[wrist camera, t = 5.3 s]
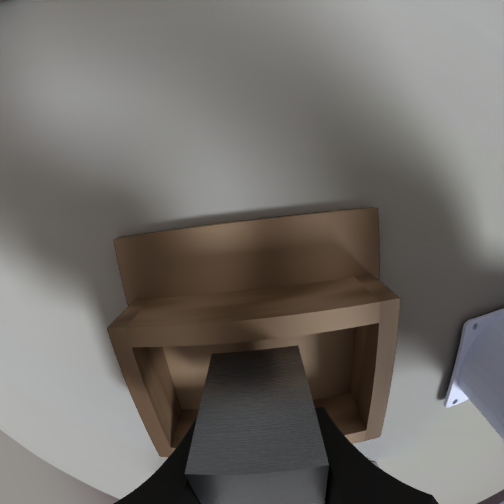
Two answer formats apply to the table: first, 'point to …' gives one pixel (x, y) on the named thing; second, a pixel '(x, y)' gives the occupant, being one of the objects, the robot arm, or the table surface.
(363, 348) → the walnut well
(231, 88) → the table surface
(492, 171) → the table surface
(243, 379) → the steel block
